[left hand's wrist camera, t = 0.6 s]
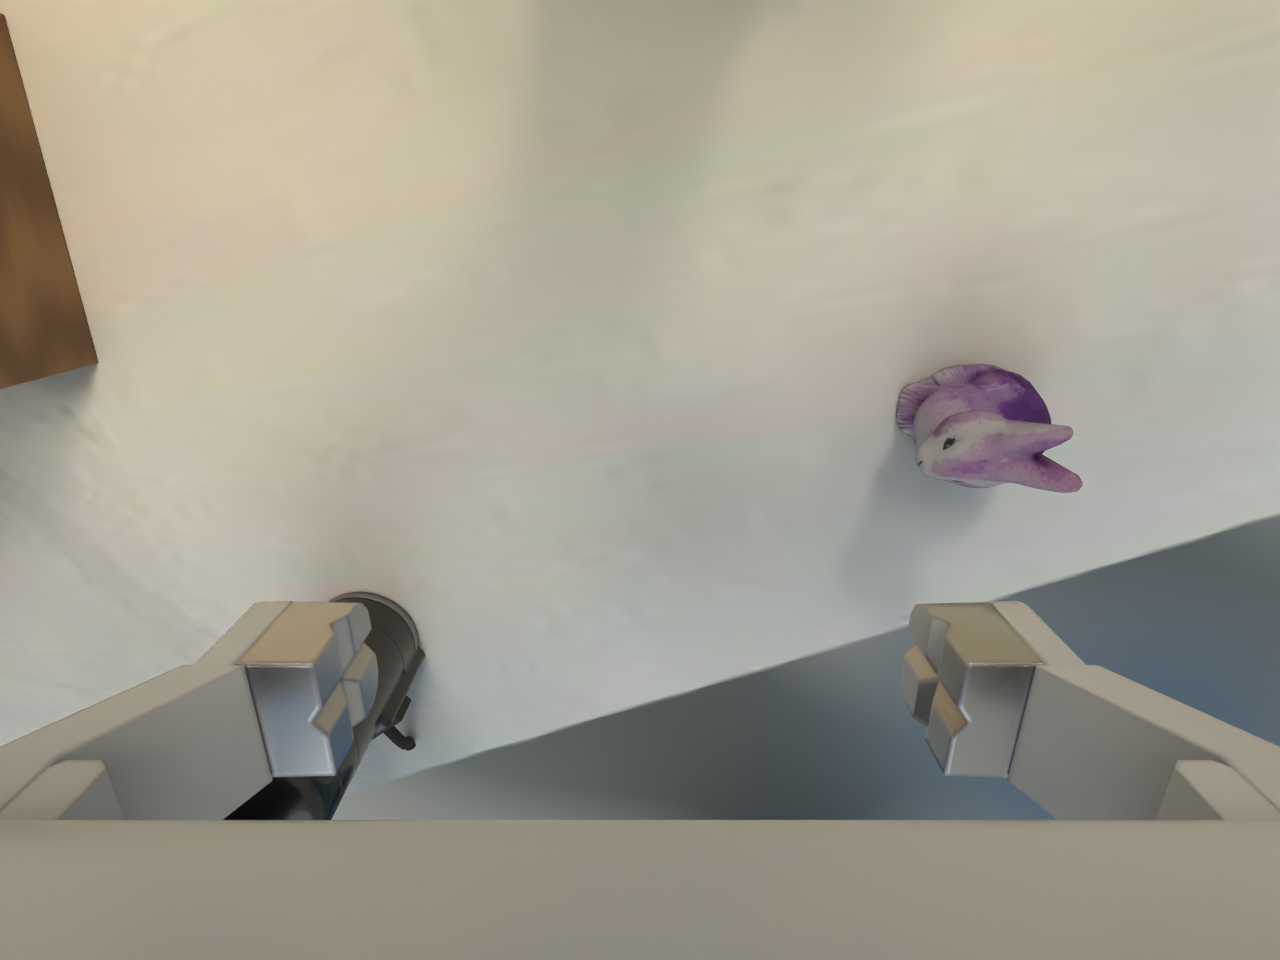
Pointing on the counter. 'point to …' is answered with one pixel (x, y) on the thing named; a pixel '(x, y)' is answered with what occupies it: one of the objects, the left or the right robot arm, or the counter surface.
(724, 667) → the counter surface
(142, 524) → the counter surface
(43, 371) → the box
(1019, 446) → the figurine
